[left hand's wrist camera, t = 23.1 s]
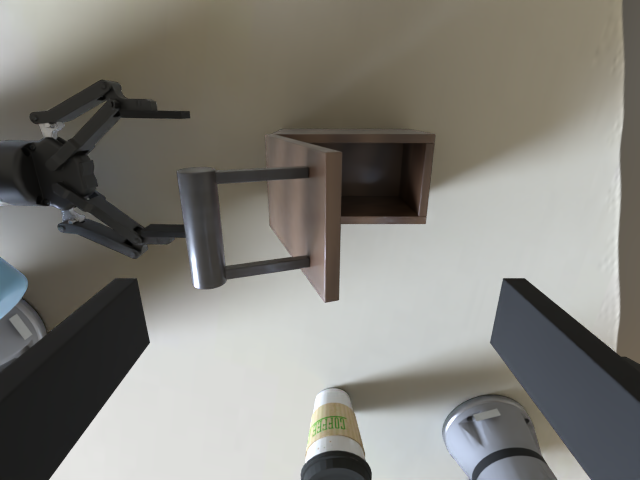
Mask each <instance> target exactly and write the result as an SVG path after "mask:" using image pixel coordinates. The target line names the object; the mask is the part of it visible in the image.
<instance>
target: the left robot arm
mask: <svg viewBox="0 0 640 480" xmlns="http://www.w3.org/2000/svg"><path fill="white" fill-rule="evenodd" d="M149 343H150V341H149V336H148V331H147V326H146V321H145V316H144V311H143V306H142V302H141V297H140V292H139V287H138V282H137V278H115V279H114V280H113V281H112V282H110V283H109V284H108V285H107V286H105V287H104V288H103V289H102V290H101V291H99V292H98V293H97V294H96V295H94V296H93V297H92V298H91V299H90V300H88V301H87V302H86V303H85V304H83V305H82V306H81V307H80V308H78V309H77V310H76V311H75V312H74V313H72V314H71V315H70V316H69V317H67V318H66V319H65V320H64V321H62V322H61V323H60V324H59V325H58V326H56V327H55V328H54V329H53V330H51V331H50V332H49V333H48V334H46V335H45V336H44V337H43V338H42V339H40V340H39V341H38V342H37V343H35V344H34V345H33V346H32V347H31V348H29V349H28V350H27V351H26V352H24V353H23V354H22V355H21V356H19V357H18V358H14V359H12V360H10V361H8V362H6V363H5V364H3V365H1V366H0V480H49V479H50V478H51V476H52V475H53V473H54V472H55V471H56V469H57V468H58V467H59V465H60V464H61V463H62V461H63V460H64V459H65V457H66V456H67V454H68V453H69V452H70V450H71V449H72V448H73V446H74V445H75V444H76V442H77V441H78V440H79V438H80V437H81V435H82V434H83V433H84V431H85V430H86V429H87V427H88V426H89V425H90V423H91V422H92V421H93V419H94V418H95V416H96V415H97V414H98V412H99V411H100V410H101V408H102V407H103V406H104V404H105V403H106V402H107V400H108V399H109V397H110V396H111V395H112V393H113V392H114V391H115V389H116V388H117V387H118V385H119V384H120V383H121V381H122V380H123V378H124V377H125V376H126V374H127V373H128V372H129V370H130V369H131V368H132V366H133V365H134V364H135V362H136V361H137V359H138V358H139V357H140V355H141V354H142V353H143V351H144V350H145V349H146V347H147V346H148V345H149ZM490 343H491V345H492V346H493V347H494V349H495V350H496V351H497V353H498V354H499V355H500V357H501V358H502V359H503V361H504V362H505V364H506V365H507V366H508V368H509V369H510V370H511V372H512V373H513V374H514V376H515V377H516V378H517V380H518V381H519V383H520V384H521V385H522V387H523V388H524V389H525V391H526V392H527V393H528V395H529V396H530V397H531V399H532V400H533V402H534V403H535V404H536V406H537V407H538V408H539V410H540V411H541V412H542V414H543V415H544V416H545V418H546V419H547V421H548V422H549V423H550V425H551V426H552V427H553V429H554V430H555V431H556V433H557V434H558V435H559V437H560V438H561V440H562V441H563V442H564V444H565V445H566V446H567V448H568V449H569V450H570V452H571V453H572V454H573V456H574V457H575V459H576V460H577V461H578V463H579V464H580V465H581V467H582V468H583V469H584V471H585V472H586V473H587V475H588V476H589V478H590V479H591V480H640V364H638V363H636V362H635V361H633V360H631V359H629V358H627V357H621V356H619V355H618V354H617V353H616V352H614V351H613V350H612V349H611V348H609V347H608V346H607V345H606V344H605V343H603V342H602V341H601V340H600V339H598V338H597V337H596V336H595V335H594V334H592V333H591V332H590V331H589V330H587V329H586V328H585V327H584V326H582V325H581V324H580V323H579V322H578V321H576V320H575V319H574V318H573V317H571V316H570V315H569V314H568V313H566V312H565V311H564V310H563V309H562V308H560V307H559V306H558V305H557V304H555V303H554V302H553V301H552V300H550V299H549V298H548V297H547V296H546V295H544V294H543V293H542V292H541V291H539V290H538V289H537V288H536V287H535V286H533V285H532V284H531V283H530V282H528V281H527V280H526V279H525V278H503V282H502V287H501V292H500V297H499V302H498V306H497V311H496V316H495V321H494V326H493V331H492V336H491V341H490ZM442 434H443V439H444V442H445V445H446V447H447V450H448V451H449V453H450V454H451V456H452V457H453V458H454V459H455V460H456V462H457V463H458V464H459V466H460V467H461V468H462V470H463V471H464V472H465V473H466V475H467V476H468V477H469V478H470V480H557V478H556V477H555V475H554V474H553V472H552V471H551V469H550V468H549V466H548V465H547V463H546V462H545V460H544V458H543V457H542V455H541V451H540V447H539V444H538V440H537V436H536V433H535V429H534V426H533V423H532V421H531V418H530V417H529V415H528V414H527V412H526V411H525V409H524V408H523V407H522V406H521V405H520V404H519V403H518V402H516V401H515V400H513V399H510V398H508V397H504V396H498V395H486V396H480V397H476V398H473V399H470V400H468V401H466V402H464V403H462V404H460V405H459V406H457V407H456V408H455V409H454V410H453V411H452V412H451V413H450V414H449V415H448V417H447V418H446V420H445V422H444V425H443V430H442Z"/></svg>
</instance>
